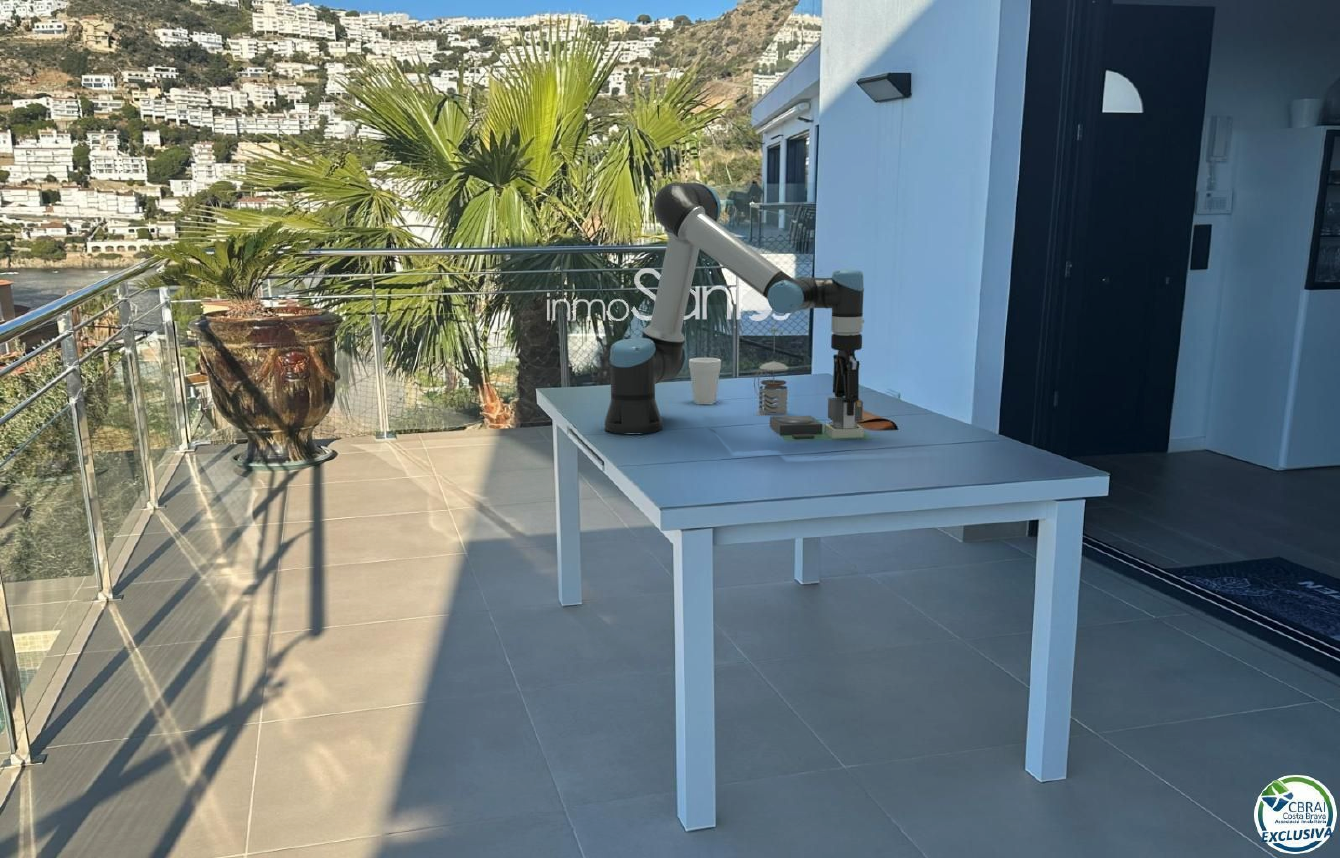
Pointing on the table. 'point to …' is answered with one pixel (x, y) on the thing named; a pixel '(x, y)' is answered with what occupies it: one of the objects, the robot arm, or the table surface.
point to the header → (844, 432)
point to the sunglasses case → (876, 422)
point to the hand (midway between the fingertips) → (844, 425)
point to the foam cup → (704, 379)
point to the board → (817, 436)
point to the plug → (837, 411)
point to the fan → (795, 425)
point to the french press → (772, 389)
